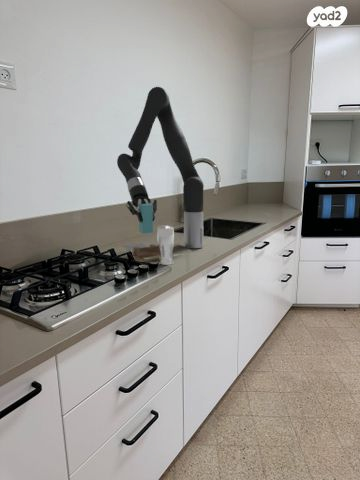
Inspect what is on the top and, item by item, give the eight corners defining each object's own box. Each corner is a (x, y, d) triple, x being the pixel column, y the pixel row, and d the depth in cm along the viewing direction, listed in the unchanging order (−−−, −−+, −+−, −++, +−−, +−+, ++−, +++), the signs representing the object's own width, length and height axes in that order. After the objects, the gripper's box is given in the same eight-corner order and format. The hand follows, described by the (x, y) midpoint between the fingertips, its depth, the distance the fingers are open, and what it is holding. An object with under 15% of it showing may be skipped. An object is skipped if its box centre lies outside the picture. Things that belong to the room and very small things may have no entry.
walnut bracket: (124, 254, 154) (124, 243, 152) (157, 250, 160) (157, 240, 159) (136, 264, 140) (136, 252, 138) (172, 258, 146) (172, 247, 145)
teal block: (139, 231, 150) (138, 204, 147) (149, 230, 151) (148, 203, 149) (143, 233, 146) (142, 205, 143) (152, 232, 148) (152, 204, 145)
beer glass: (168, 266, 136) (167, 229, 133) (154, 263, 140) (153, 227, 136) (177, 262, 142) (177, 226, 138) (163, 259, 145) (163, 224, 142)
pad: (122, 247, 166) (122, 245, 166) (142, 245, 171) (141, 243, 170) (129, 252, 158) (128, 250, 157) (149, 249, 162) (149, 247, 162)
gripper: (123, 184, 147) (133, 216, 140) (154, 183, 154) (165, 214, 146) (120, 196, 153) (129, 227, 145) (150, 194, 159) (160, 224, 152)
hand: (147, 220), depth 146 cm, fingers closed on teal block, 4 cm apart
